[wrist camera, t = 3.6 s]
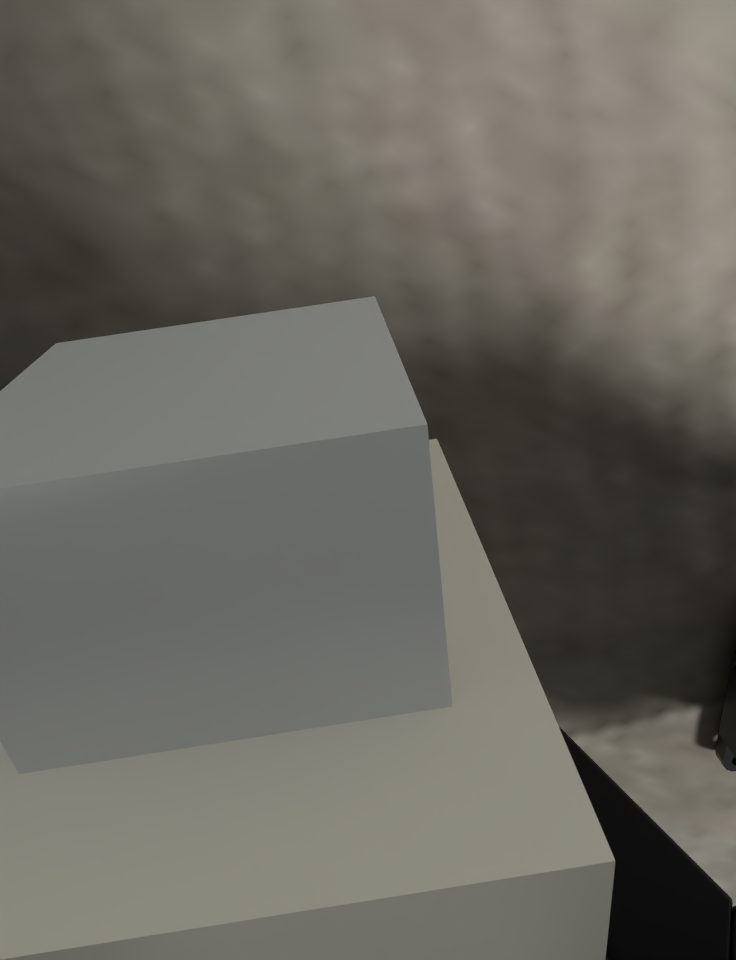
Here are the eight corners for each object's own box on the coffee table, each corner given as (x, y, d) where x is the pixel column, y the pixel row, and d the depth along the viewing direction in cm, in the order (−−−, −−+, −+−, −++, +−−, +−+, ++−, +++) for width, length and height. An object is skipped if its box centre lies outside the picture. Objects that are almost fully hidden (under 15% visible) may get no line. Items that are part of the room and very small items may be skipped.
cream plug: (470, 844, 11) (572, 1288, 7) (245, 880, 11) (208, 1348, 7) (422, 262, 7) (649, 526, 2) (33, 320, 7) (-510, 701, 2)
